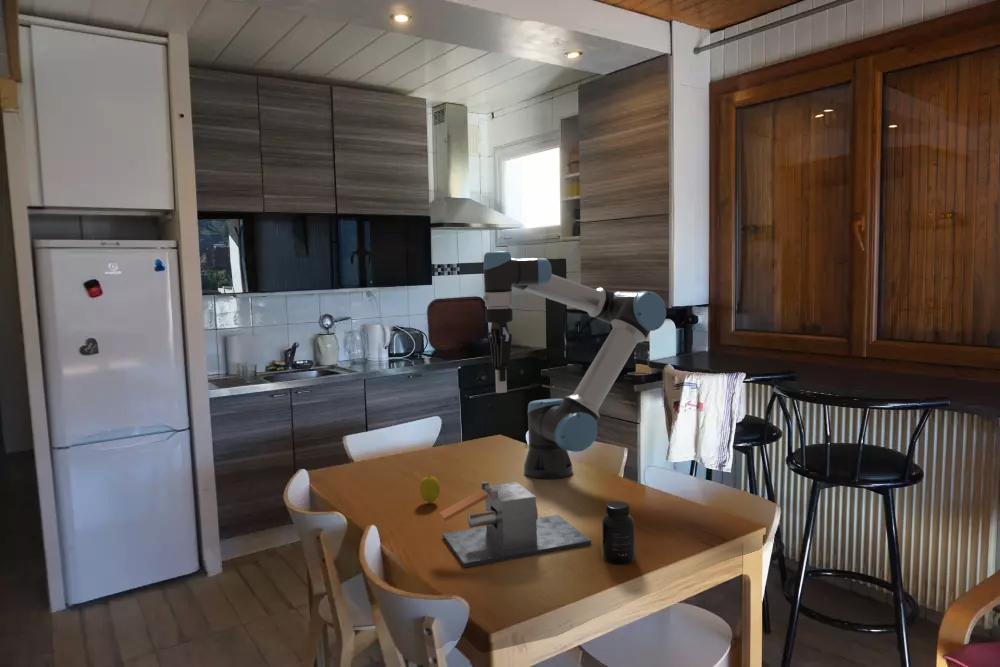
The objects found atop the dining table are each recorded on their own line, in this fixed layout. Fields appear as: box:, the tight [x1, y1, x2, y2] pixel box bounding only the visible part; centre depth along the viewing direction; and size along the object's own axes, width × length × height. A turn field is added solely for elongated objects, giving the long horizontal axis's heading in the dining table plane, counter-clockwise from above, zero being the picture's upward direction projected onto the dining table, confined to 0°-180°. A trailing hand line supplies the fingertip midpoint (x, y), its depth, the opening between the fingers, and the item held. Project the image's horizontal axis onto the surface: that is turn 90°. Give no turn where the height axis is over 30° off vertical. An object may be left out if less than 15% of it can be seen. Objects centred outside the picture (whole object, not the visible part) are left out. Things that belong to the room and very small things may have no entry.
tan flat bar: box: [439, 485, 492, 522], centre depth 148 cm, size 13×4×1 cm, turn 110°
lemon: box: [419, 474, 441, 505], centre depth 180 cm, size 6×6×8 cm
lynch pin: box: [467, 506, 539, 529], centre depth 151 cm, size 16×5×5 cm, turn 110°
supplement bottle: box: [601, 500, 636, 566], centre depth 141 cm, size 7×7×12 cm
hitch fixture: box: [442, 481, 592, 569], centre depth 152 cm, size 30×18×14 cm, turn 110°
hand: (501, 392), depth 183 cm, fingers closed
